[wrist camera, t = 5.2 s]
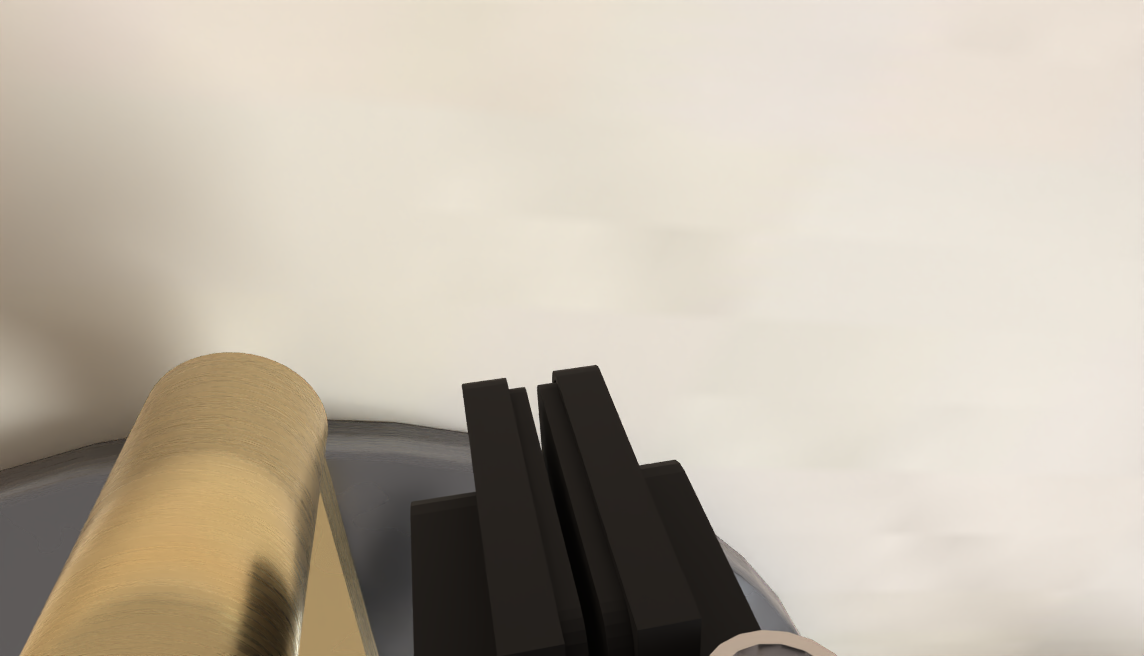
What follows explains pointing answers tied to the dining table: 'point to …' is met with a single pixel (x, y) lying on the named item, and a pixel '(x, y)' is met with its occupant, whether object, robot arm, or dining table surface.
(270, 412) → the gold l-shaped piece
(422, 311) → the dining table surface
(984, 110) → the dining table surface
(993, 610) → the dining table surface
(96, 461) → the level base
